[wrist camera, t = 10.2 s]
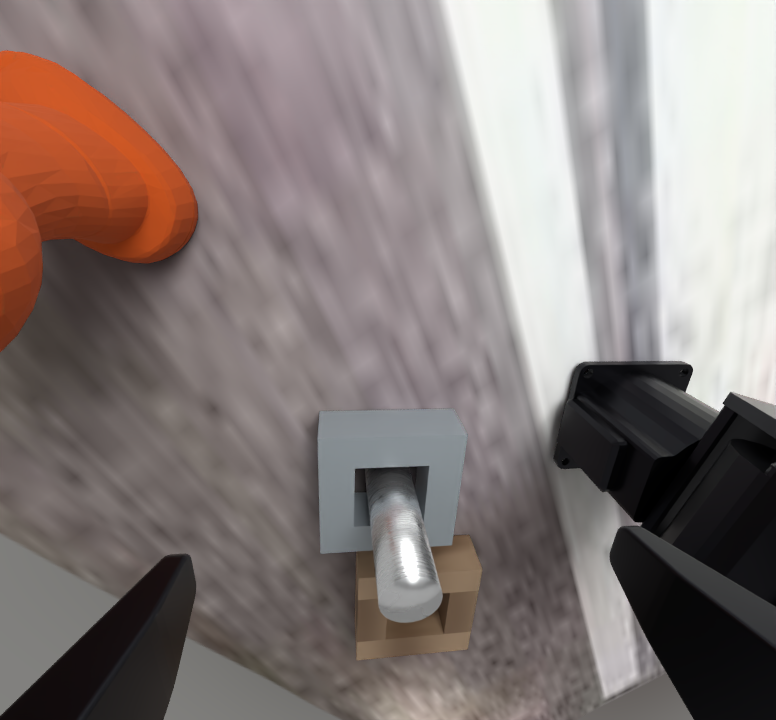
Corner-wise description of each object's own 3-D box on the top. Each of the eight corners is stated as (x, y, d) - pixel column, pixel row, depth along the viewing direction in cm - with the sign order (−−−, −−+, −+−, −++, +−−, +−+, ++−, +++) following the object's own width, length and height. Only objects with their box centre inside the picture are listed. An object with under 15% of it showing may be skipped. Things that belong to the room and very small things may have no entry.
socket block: (469, 534, 25) (482, 569, 23) (456, 611, 28) (467, 649, 25) (356, 541, 24) (358, 578, 22) (354, 620, 27) (356, 660, 24)
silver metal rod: (408, 446, 22) (445, 575, 14) (406, 481, 23) (439, 619, 15) (364, 447, 22) (380, 579, 14) (363, 483, 22) (377, 625, 15)
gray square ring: (453, 408, 21) (467, 434, 19) (440, 511, 24) (451, 545, 22) (319, 411, 20) (317, 439, 18) (322, 517, 23) (320, 553, 21)
